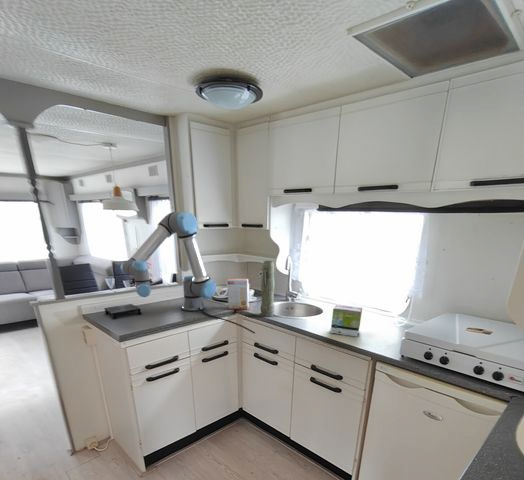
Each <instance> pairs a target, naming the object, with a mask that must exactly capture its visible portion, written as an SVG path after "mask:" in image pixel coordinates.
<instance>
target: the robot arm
mask: <svg viewBox="0 0 524 480" xmlns="http://www.w3.org/2000/svg"><path fill="white" fill-rule="evenodd" d="M198 227H199V223H198V219H197V218H196V216H195V215H194V214H192V213H191V212H188V211H171V212H169V213H167V214H166V215H165V216H164V217H162V219H161V220H160V221H159V222H158V223H157V224H156V229H154V230H153V231H152V233H151V234H150V235H149V237H148V238H147V239H146V240H145V241H144V242H143V243H142V244H141V245H140V246H139V248H138V249H137V250H136V251H135V252H134V254H132V256H131V257H130V258H129V259H128V260H127V261H123V262H122V263H121V264H120V271H121V272H122V273H123V274H124V275H127V276H130V277H132V278H131V279H129V280H128V281H129V287H130V288H132V287H135V291H136V293H137V295H138V296H139V297H141V298H148V297H149V296H150V295H151V292H152V286H154V282H153V280H152V278H150V276H149V267H148V263H147V261H148V260H149V259H150V258H151V257H152V255H153V254H154V253H156V251H157V249H159V247H160V246H161V245H162V244H163V243H164V241H165V240H166V239H167V238H170V237H171V236H172V235H174V234H176V235H177V238H178V240H180V241H181V243H182V247H183V248H184V249H183V250H184V251H185V252H184V253H185V255H186V258H187V261H188V264H189V267H190V270H191V273H192V275H186V276H183V278H182V287H183V288H182V289H183V301H182V306H181V307H182V308H181V309H182V310H183V311H186V312H201V313H203V314H204V315H206V316H208V317H212V318H215V319H219V320H222V321H225V322H228V323H230V324H234V325H236V326H238V327H241V328H243V329H245V330H247V331H248V332H250V333H252V334H253V335H255V334H256V332H255V331H254V330H252V329H249V328H248V327H247V326H244V325H242V324H239V323H238V322H234V321H232V320H229V319H226V318H222V317H219V316H216V315H212V314H209V313H207V312H205V311H204V310H205V303H204V301H203V299H210V298H213V296H214V295H215V293H216V291H217V284H216V282H214V280H212V279H211V276H210V274H209V273H207V271H206V268H205V264H204V261H203V257H202V254H201V250H200V247H199V244H198V240H197V237H196V236H197V235H198V232H197V230H198Z"/></svg>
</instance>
